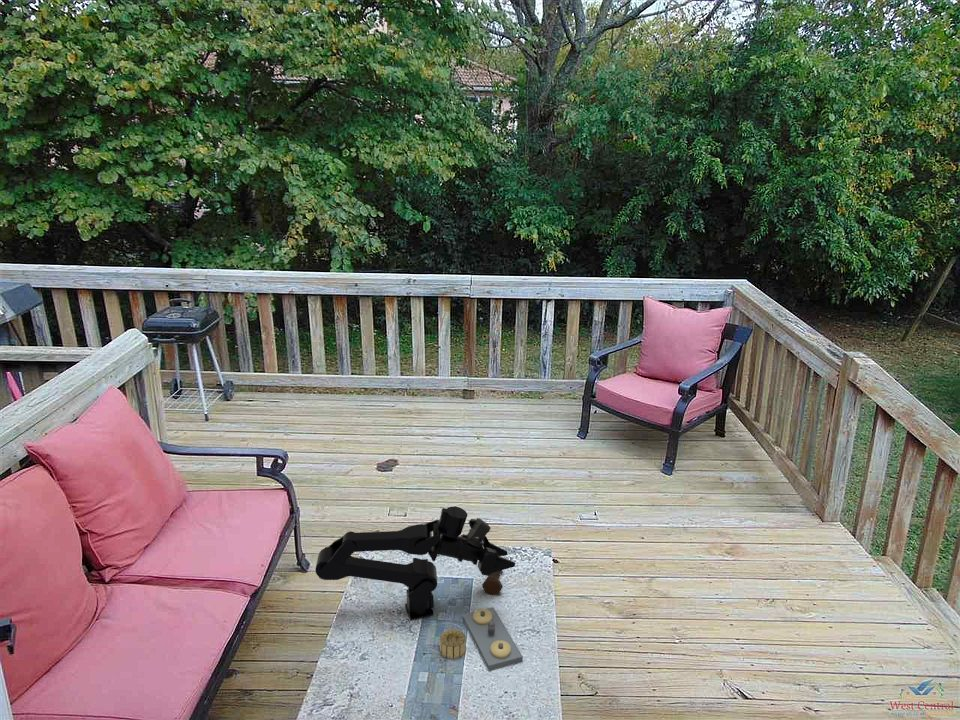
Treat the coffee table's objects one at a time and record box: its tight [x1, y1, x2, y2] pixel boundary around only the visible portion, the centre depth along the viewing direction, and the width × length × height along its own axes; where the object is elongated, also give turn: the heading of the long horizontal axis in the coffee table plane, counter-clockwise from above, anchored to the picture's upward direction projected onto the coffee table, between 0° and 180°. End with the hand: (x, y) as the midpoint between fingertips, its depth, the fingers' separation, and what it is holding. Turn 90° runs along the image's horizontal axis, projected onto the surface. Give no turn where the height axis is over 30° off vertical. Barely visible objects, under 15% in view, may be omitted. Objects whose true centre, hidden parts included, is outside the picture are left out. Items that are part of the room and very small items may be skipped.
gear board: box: [461, 606, 524, 672], centre depth 168 cm, size 9×20×6 cm, turn 21°
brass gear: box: [439, 628, 467, 660], centre depth 165 cm, size 6×6×4 cm
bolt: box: [481, 570, 503, 596], centre depth 192 cm, size 6×5×15 cm
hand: (510, 558), depth 177 cm, fingers open, 9 cm apart
